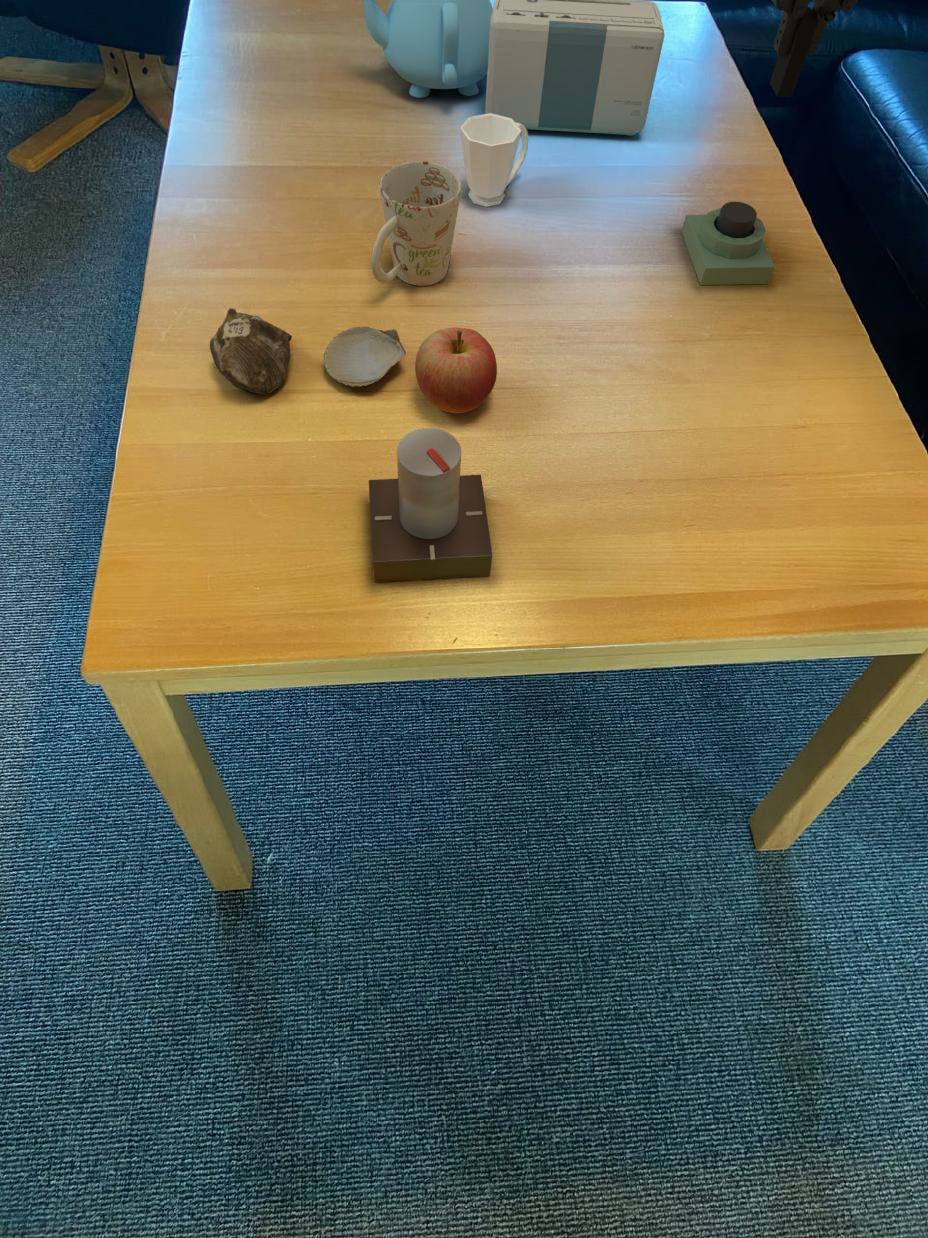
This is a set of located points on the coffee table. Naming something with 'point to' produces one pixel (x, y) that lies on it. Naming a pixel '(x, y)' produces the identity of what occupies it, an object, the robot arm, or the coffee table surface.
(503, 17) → the white and blue toaster
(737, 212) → the button
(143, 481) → the coffee table surface
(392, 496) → the control panel
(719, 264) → the button box
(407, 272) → the mug
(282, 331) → the fossilized seashell
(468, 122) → the cup
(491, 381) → the apple
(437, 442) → the dial
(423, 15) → the teapot
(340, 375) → the seashell
